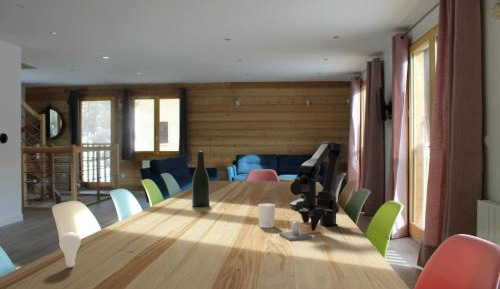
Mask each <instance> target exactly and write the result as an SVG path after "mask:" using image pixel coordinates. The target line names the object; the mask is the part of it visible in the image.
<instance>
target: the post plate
mask: <svg viewBox="0 0 500 289" xmlns="http://www.w3.org/2000/svg"><path fill="white" fill-rule="evenodd" d="M299 223H300V222H299V221H292V226H291V227H292V228H291V229H292V231H283V232H279V234H278V235H279V236H280V237H282V238H283V239H285V240H287V241H289V242H292V241H301V240H302V241H303V240H313V235H311V234H310V233H305V232H303V231H300V228H299Z"/></svg>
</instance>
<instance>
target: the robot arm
mask: <svg viewBox="0 0 500 289" xmlns="http://www.w3.org/2000/svg"><path fill="white" fill-rule="evenodd" d="M346 151H347V147H346V145H345V144H344V143H343V142H333V141H330V140H329V141H326V140H325V141H322V142H321V143H320V146H319V147H318V149H317V150H316V151H315V153H314V154H313V155H312V157H311V158H310V159H308V160H306V161H304V162H303V163H302V164H301V165H300V167H299V170H298V172H297V175H296V178H294V180H293V182H291V184H290V187H289V188H290V192H291V194H293V195H294V196H300V198H298V199H296V200H293V201H291V202H290V203H289V205H290V208H291V211H293V212H297V213H298V214H300V216H301V220H302V223H305V222H311V228H312V231H314V230H315V228H316V226H317V224H319V225H321V226H323V227H336V226H337V227H338V226H339V224H338V223H337V214H338V213H339V212H340V209H341V208H340V205H338V203H337V196H336V194H335V188H336V183H337V176H338V171H339V165H340V162H341V160H343V158H344V157H345V153H346ZM326 158H328V163H327V166H326V167H327V168H326V173H325V178H324V183H323V188H322V190H321V191H318V192H317V182H319V179H318V178H317V177H318V175H319V173H320V172H321V166H322V164H323V162H324V161H325V159H326Z"/></svg>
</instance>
